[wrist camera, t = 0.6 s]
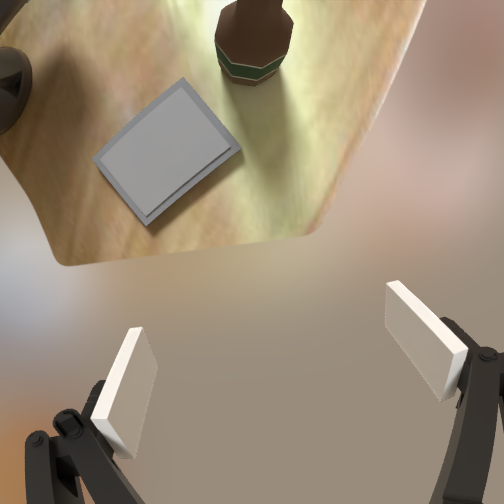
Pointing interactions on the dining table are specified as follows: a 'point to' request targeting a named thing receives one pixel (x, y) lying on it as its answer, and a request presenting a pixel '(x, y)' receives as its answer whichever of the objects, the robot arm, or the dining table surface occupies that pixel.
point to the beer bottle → (252, 39)
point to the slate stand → (165, 151)
